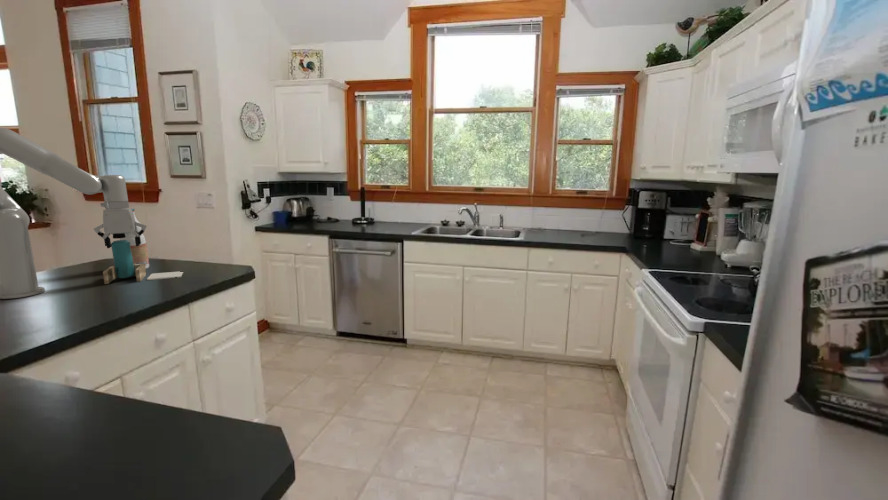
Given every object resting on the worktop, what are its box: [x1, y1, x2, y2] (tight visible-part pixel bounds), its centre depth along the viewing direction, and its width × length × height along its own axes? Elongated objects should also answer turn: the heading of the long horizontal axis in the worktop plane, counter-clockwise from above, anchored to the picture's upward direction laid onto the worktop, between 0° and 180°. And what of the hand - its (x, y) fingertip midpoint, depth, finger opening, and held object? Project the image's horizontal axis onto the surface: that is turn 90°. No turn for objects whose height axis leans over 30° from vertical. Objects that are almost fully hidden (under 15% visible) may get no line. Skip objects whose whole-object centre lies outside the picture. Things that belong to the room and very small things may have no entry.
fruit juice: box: [119, 208, 150, 269], centre depth 184 cm, size 9×9×28 cm
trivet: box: [146, 271, 184, 281], centre depth 176 cm, size 12×10×1 cm
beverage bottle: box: [110, 233, 135, 279], centre depth 168 cm, size 6×7×20 cm
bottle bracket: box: [102, 264, 147, 285], centre depth 169 cm, size 12×12×5 cm
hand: (123, 246), depth 168 cm, fingers open, 9 cm apart
